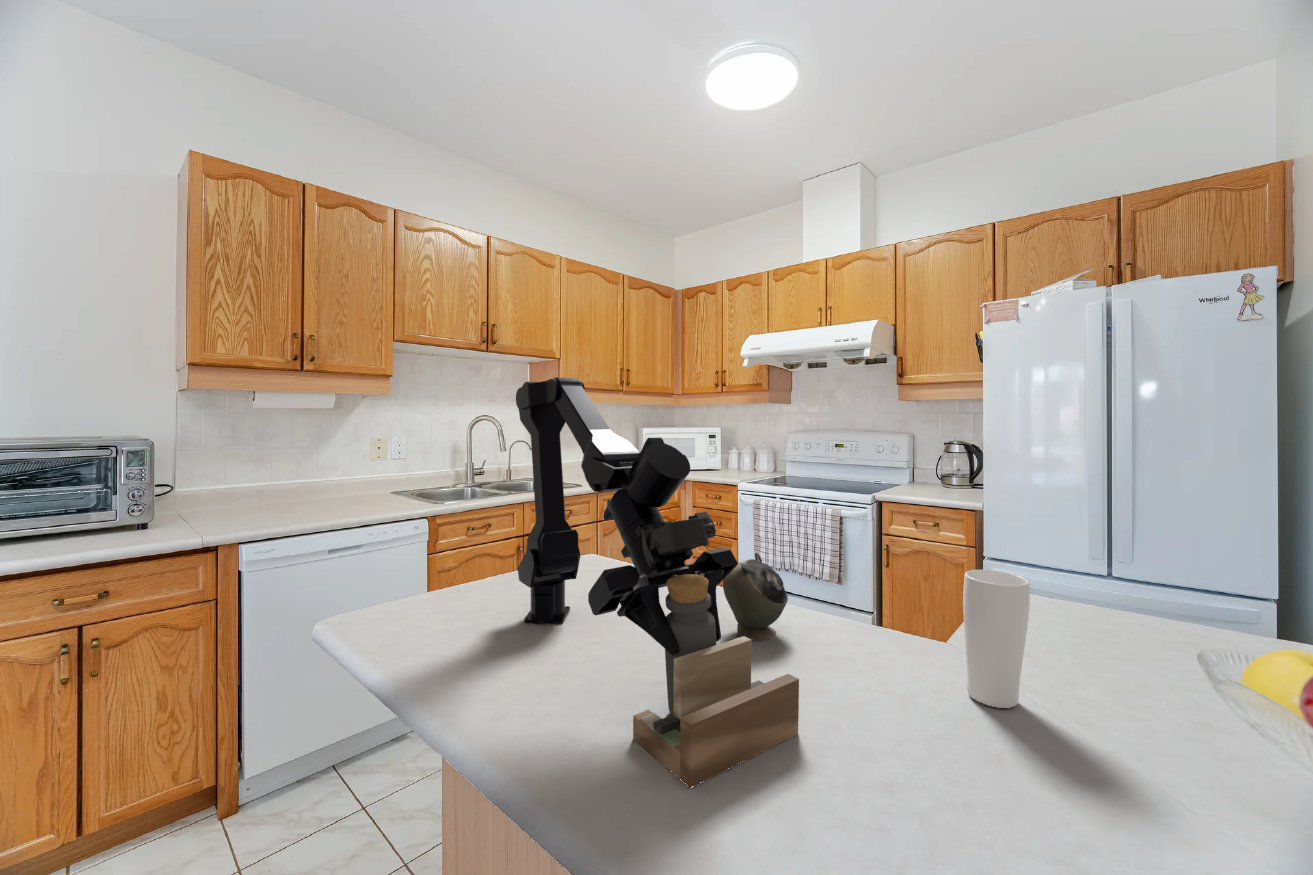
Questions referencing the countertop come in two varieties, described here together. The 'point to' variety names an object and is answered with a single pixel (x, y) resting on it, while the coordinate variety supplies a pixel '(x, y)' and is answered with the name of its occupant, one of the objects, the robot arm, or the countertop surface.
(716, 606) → the robot arm
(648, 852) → the countertop surface
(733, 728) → the wooden rack
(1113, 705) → the countertop surface
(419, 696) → the countertop surface
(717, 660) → the wooden flat panel
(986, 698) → the drinking glass
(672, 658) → the bottle
